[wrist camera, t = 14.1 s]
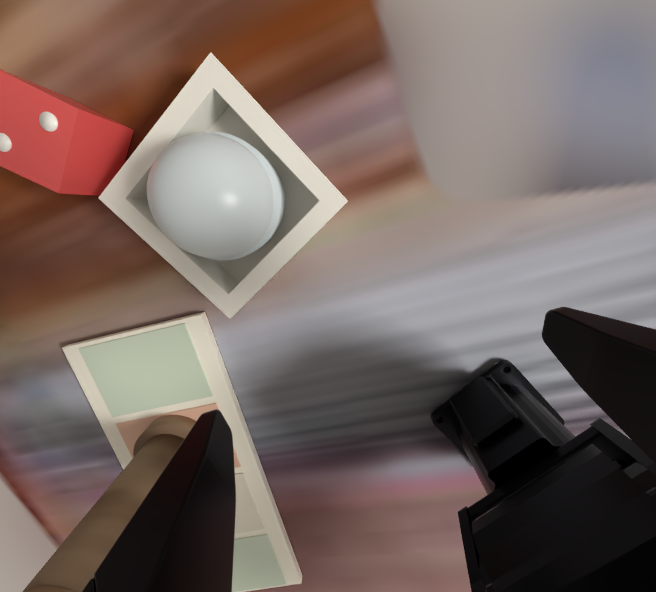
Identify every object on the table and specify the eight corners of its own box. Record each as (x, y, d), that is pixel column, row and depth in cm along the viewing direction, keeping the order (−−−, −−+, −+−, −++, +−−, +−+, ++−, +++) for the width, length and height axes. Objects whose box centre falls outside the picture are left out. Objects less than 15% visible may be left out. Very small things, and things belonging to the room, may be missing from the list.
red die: (133, 130, 18) (77, 108, 14) (115, 196, 19) (57, 193, 15) (65, 96, 18) (-12, 64, 14) (50, 165, 19) (-26, 154, 15)
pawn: (225, 468, 23) (100, 751, 11) (160, 481, 24) (-27, 763, 12) (200, 408, 22) (29, 653, 10) (132, 422, 23) (-110, 672, 10)
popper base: (346, 202, 19) (348, 201, 16) (245, 303, 21) (230, 318, 18) (232, 78, 17) (210, 52, 14) (134, 199, 19) (98, 198, 16)
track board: (302, 575, 27) (301, 584, 26) (192, 591, 28) (188, 601, 27) (204, 311, 21) (200, 315, 20) (69, 344, 22) (60, 348, 21)
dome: (308, 201, 18) (295, 198, 12) (238, 274, 19) (197, 301, 14) (228, 116, 17) (175, 72, 11) (159, 199, 18) (81, 196, 13)
